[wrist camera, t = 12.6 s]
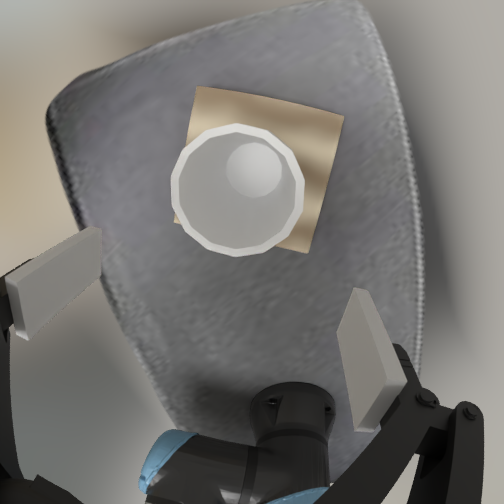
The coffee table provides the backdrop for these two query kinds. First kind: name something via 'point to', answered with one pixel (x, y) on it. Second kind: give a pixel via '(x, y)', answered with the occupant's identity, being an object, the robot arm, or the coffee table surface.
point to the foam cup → (237, 189)
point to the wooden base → (287, 130)
